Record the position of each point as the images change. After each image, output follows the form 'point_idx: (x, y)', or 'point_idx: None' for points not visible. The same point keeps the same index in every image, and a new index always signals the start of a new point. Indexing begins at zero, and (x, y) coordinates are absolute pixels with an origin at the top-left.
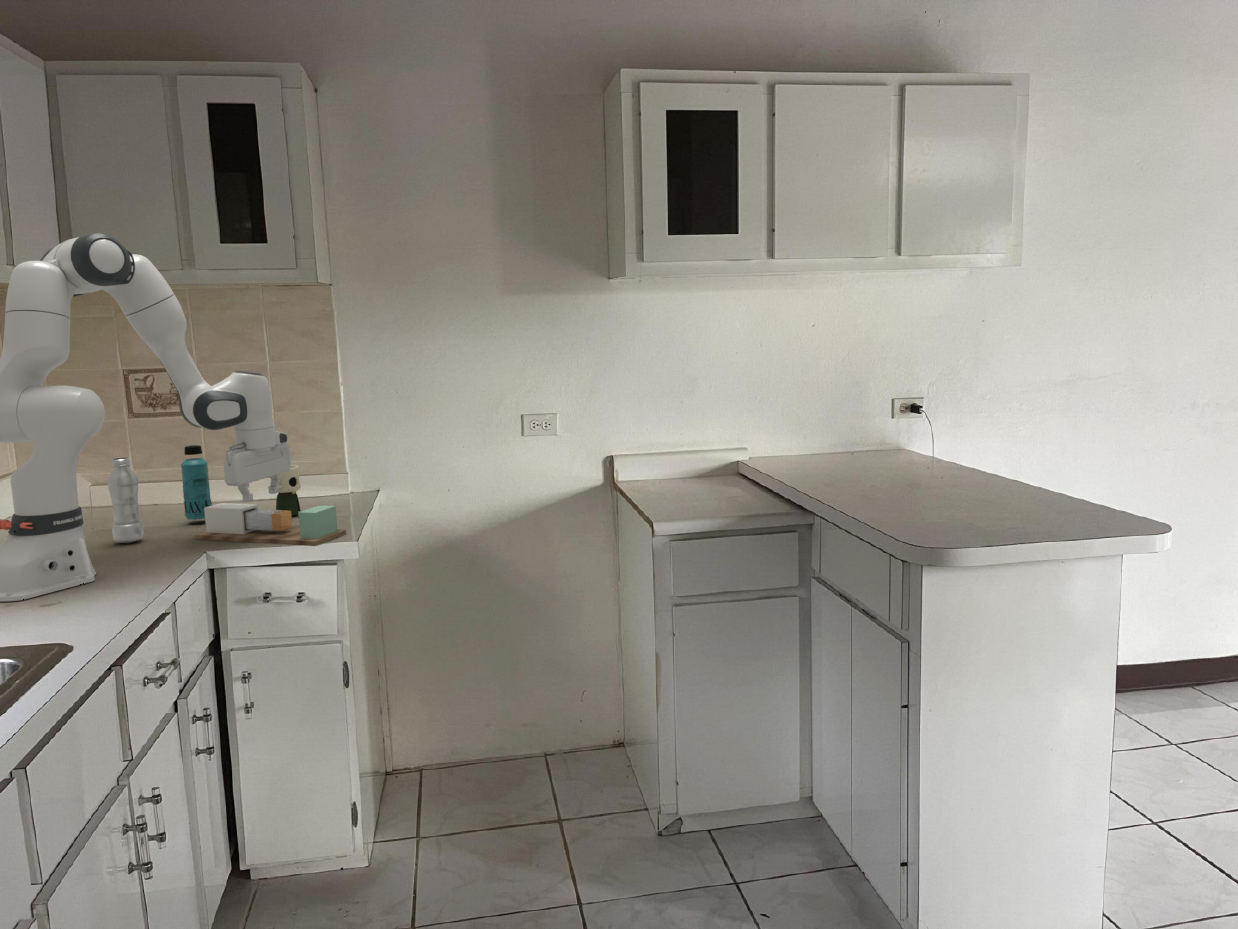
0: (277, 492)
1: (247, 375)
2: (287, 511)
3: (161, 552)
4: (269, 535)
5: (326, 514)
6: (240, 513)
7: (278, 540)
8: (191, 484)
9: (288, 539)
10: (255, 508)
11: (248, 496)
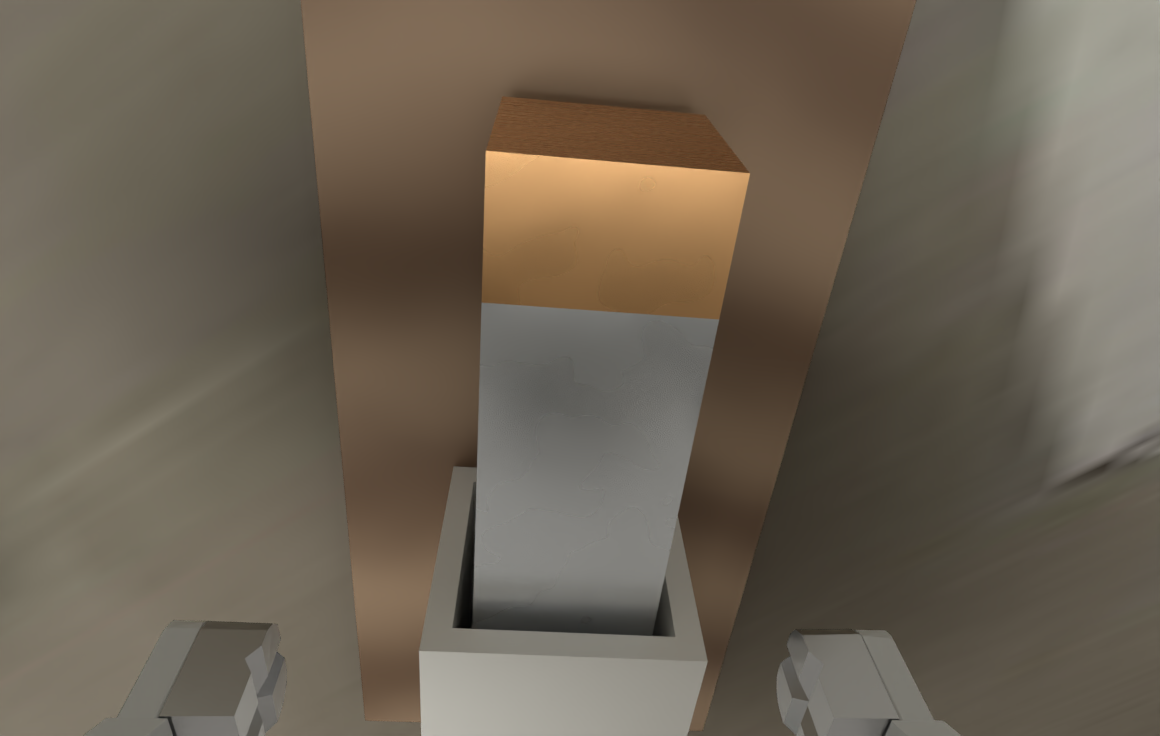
0: (191, 621)
1: None
2: (552, 170)
3: (1034, 684)
4: None
5: None
6: (695, 632)
7: (904, 16)
8: None
9: None
10: (455, 626)
11: (923, 699)
